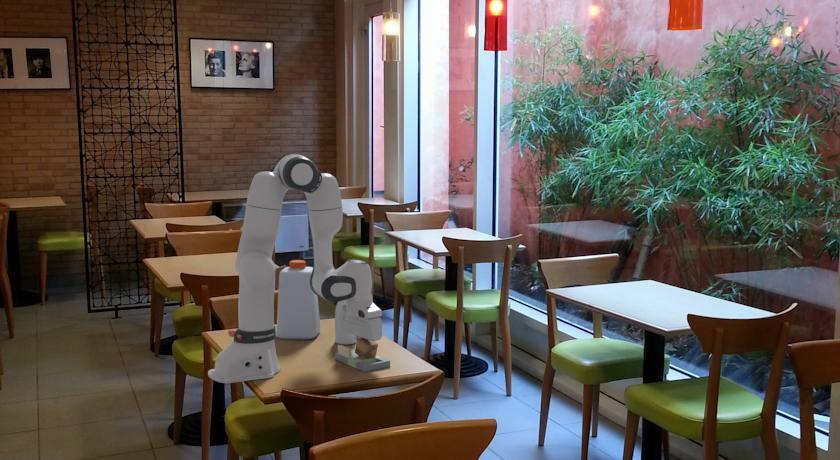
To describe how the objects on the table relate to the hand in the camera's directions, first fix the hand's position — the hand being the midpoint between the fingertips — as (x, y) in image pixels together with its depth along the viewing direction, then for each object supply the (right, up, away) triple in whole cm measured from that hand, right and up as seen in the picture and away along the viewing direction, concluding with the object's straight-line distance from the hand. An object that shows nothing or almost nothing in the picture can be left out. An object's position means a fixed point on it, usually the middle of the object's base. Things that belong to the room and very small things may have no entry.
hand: (360, 348), depth 278 cm
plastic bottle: (-26, 0, +33) cm, 42 cm away
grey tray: (+1, -4, -2) cm, 5 cm away
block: (+2, -2, -2) cm, 3 cm away
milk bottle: (-7, -1, +23) cm, 24 cm away
